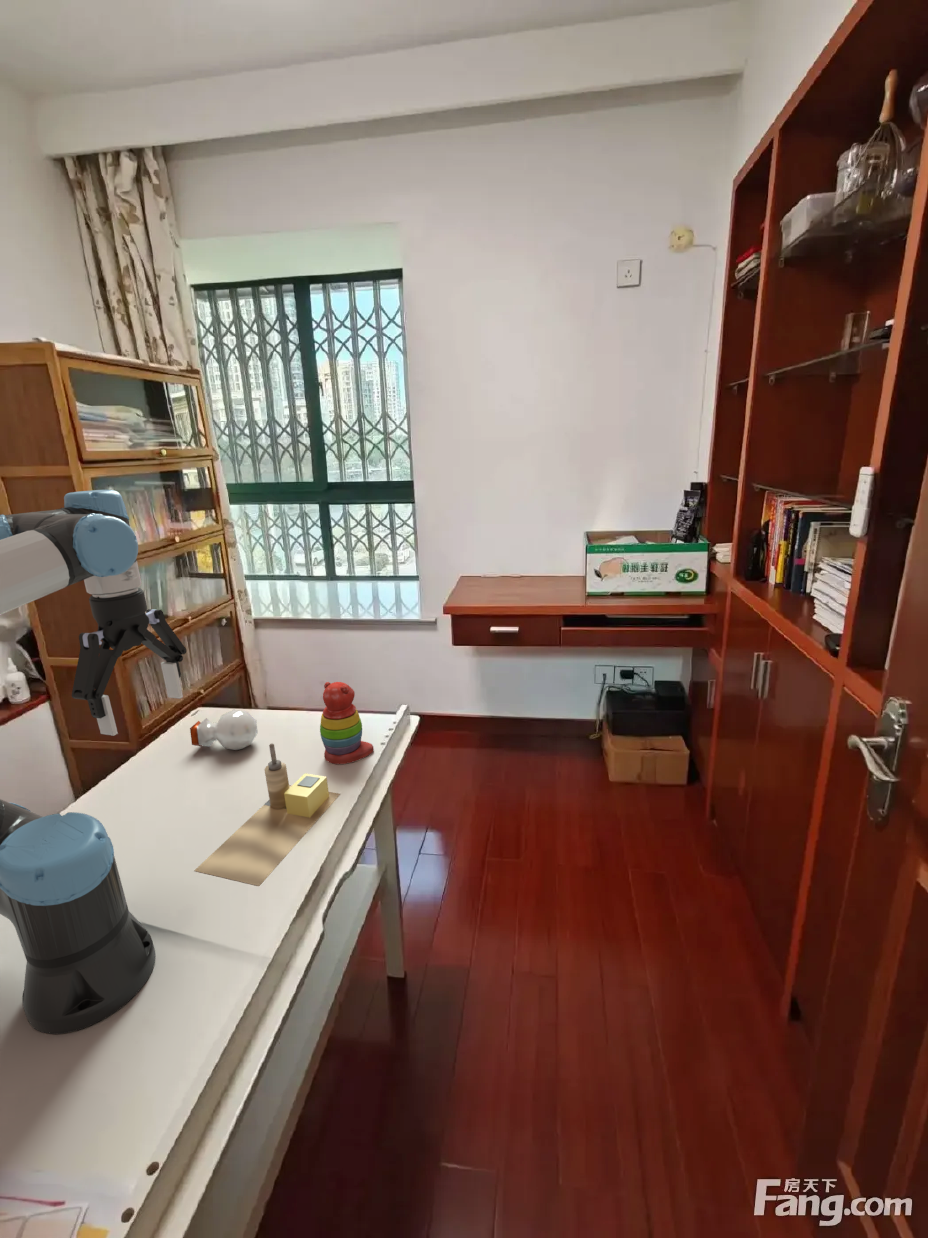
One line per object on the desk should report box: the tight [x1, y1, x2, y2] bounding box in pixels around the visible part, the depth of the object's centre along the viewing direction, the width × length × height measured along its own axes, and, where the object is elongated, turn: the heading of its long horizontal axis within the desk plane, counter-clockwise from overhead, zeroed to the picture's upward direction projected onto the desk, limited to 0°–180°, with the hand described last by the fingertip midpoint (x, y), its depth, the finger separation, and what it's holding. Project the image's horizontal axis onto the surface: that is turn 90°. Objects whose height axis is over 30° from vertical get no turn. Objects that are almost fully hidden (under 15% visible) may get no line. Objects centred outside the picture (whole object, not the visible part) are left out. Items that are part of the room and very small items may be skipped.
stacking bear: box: [319, 681, 375, 765], centre depth 131 cm, size 11×10×18 cm
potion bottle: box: [189, 709, 258, 751], centre depth 138 cm, size 9×10×15 cm
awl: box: [264, 742, 290, 809], centre depth 112 cm, size 4×4×13 cm
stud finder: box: [284, 773, 330, 818], centre depth 113 cm, size 7×5×5 cm
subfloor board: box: [194, 784, 341, 887], centre depth 107 cm, size 26×18×1 cm
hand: (144, 714), depth 97 cm, fingers open, 13 cm apart
